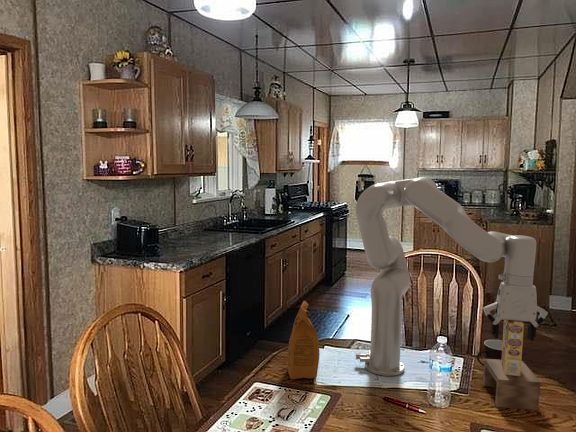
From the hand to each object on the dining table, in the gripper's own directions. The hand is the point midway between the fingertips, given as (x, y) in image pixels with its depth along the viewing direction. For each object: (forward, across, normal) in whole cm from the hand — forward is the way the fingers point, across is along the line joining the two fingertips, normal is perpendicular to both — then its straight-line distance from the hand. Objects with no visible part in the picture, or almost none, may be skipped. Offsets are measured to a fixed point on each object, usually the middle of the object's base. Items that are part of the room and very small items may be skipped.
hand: (512, 337), depth 144 cm
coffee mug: (+18, 0, +14) cm, 23 cm away
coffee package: (+18, -60, +7) cm, 63 cm away
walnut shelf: (+18, 0, 0) cm, 18 cm away
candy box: (+10, 0, 0) cm, 10 cm away
